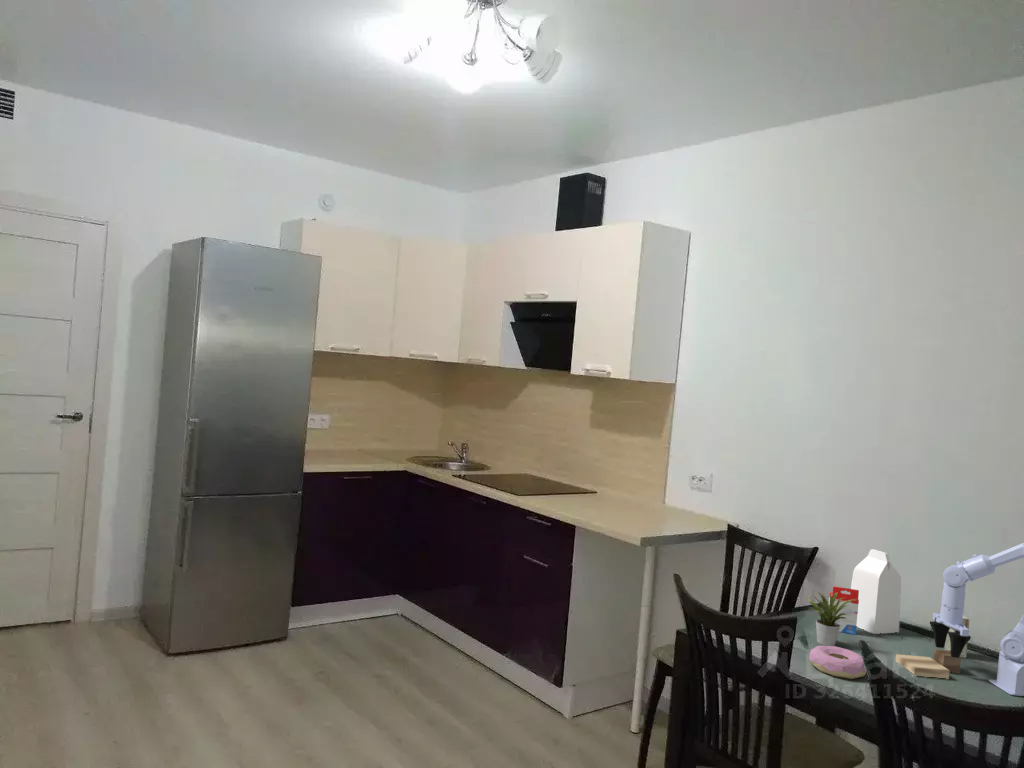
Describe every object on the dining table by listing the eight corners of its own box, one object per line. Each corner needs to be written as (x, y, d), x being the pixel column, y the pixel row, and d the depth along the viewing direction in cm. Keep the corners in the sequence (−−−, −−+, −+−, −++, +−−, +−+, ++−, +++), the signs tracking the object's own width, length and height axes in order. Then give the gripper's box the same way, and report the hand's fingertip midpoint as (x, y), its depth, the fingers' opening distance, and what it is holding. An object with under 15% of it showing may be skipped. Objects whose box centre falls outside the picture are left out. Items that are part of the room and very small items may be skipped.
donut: (877, 675, 212) (879, 658, 212) (850, 686, 203) (852, 667, 203) (824, 656, 224) (826, 639, 224) (797, 665, 215) (799, 647, 215)
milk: (845, 621, 261) (852, 546, 261) (869, 620, 266) (877, 546, 266) (873, 633, 250) (881, 555, 250) (898, 632, 255) (906, 555, 254)
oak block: (948, 680, 214) (949, 670, 214) (913, 677, 214) (914, 667, 214) (928, 667, 224) (929, 657, 224) (895, 664, 224) (896, 654, 224)
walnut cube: (959, 673, 220) (961, 656, 220) (942, 672, 220) (944, 655, 220) (949, 667, 225) (950, 650, 225) (932, 665, 225) (934, 649, 225)
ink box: (853, 630, 252) (857, 586, 252) (855, 635, 247) (860, 590, 247) (825, 625, 254) (830, 582, 254) (827, 630, 250) (832, 586, 249)
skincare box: (966, 658, 234) (970, 619, 234) (951, 656, 235) (955, 617, 235) (958, 651, 240) (962, 613, 240) (943, 649, 241) (947, 611, 241)
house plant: (843, 637, 243) (849, 587, 243) (861, 653, 229) (867, 599, 229) (798, 632, 244) (804, 582, 244) (813, 648, 230) (819, 594, 230)
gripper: (925, 597, 229) (920, 641, 229) (953, 613, 215) (948, 660, 215) (947, 599, 229) (942, 644, 230) (978, 615, 215) (973, 662, 215)
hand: (947, 652), depth 222 cm, fingers open, 7 cm apart
